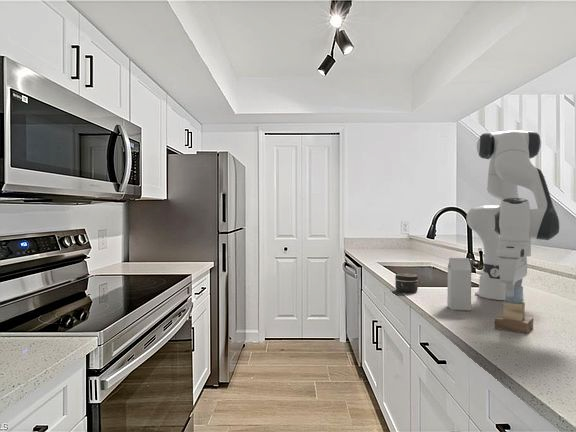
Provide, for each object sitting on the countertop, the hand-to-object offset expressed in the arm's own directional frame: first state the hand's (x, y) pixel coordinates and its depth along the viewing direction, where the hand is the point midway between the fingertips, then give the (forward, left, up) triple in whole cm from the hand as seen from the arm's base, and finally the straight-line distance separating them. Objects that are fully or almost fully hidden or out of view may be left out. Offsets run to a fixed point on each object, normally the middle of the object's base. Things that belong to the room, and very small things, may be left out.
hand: (514, 293), depth 132 cm
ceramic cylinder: (0, 0, -3) cm, 3 cm away
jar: (-35, -51, -11) cm, 63 cm away
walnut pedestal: (0, 0, -11) cm, 11 cm away
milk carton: (-16, -22, -11) cm, 29 cm away
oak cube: (0, 0, -8) cm, 8 cm away
